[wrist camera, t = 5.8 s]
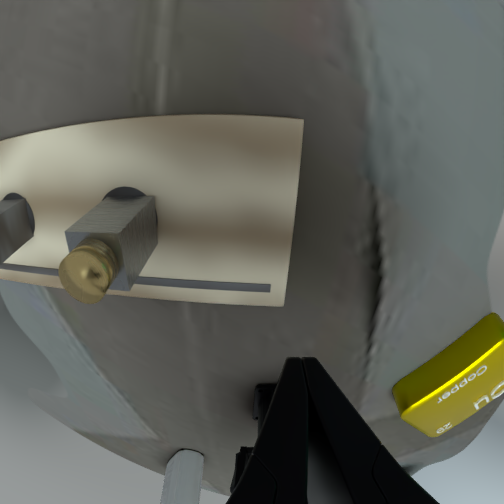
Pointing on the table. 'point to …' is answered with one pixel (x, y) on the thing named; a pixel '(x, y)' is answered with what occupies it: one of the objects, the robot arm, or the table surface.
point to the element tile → (455, 380)
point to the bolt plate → (161, 200)
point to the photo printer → (183, 478)
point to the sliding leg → (109, 247)
